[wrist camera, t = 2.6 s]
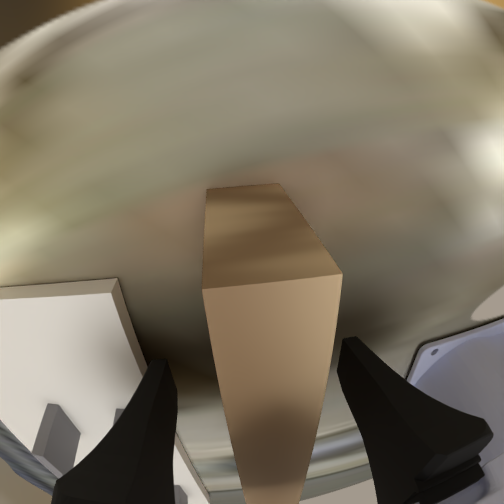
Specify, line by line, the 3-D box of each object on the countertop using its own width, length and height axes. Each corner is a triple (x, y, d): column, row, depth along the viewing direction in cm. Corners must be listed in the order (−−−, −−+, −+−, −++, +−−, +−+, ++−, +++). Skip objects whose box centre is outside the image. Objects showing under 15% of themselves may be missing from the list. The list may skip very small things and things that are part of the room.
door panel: (277, 182, 11) (342, 274, 5) (278, 420, 17) (297, 508, 12) (206, 188, 10) (201, 289, 5) (238, 425, 17) (249, 515, 12)
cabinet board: (117, 278, 11) (82, 363, 7) (209, 495, 22) (212, 536, 19) (-69, 292, 10) (-109, 340, 6) (83, 487, 22) (78, 523, 18)
